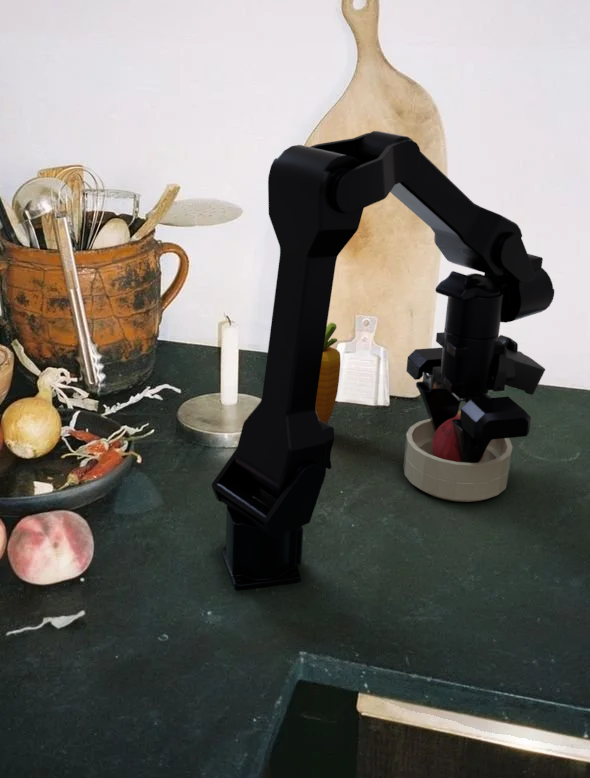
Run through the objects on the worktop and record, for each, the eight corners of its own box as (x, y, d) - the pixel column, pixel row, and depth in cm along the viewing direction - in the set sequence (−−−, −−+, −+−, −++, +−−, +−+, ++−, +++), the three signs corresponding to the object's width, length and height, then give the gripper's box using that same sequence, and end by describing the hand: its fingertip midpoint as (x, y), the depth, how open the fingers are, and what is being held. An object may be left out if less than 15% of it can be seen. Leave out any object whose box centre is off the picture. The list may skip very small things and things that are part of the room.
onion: (481, 490, 104) (490, 425, 101) (428, 483, 105) (435, 419, 102) (480, 465, 109) (488, 403, 106) (429, 459, 110) (436, 397, 107)
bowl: (428, 510, 101) (432, 469, 99) (388, 459, 111) (391, 421, 109) (525, 499, 103) (531, 459, 101) (477, 450, 114) (482, 413, 112)
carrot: (291, 426, 119) (296, 315, 113) (328, 422, 120) (334, 312, 115) (305, 444, 114) (311, 329, 109) (343, 439, 116) (351, 325, 110)
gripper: (587, 357, 94) (564, 493, 99) (498, 298, 111) (483, 417, 116) (485, 365, 91) (468, 504, 97) (410, 303, 108) (399, 425, 114)
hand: (456, 459), depth 106 cm, fingers closed on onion, 6 cm apart
